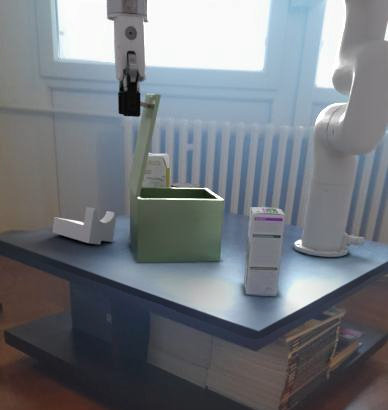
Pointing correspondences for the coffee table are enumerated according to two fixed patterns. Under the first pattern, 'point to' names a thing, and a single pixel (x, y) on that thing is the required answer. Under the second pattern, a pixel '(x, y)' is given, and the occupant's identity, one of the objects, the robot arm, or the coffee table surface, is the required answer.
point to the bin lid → (143, 142)
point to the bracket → (88, 227)
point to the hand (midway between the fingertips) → (129, 115)
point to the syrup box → (264, 251)
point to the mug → (185, 185)
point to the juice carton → (157, 171)
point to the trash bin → (176, 225)
